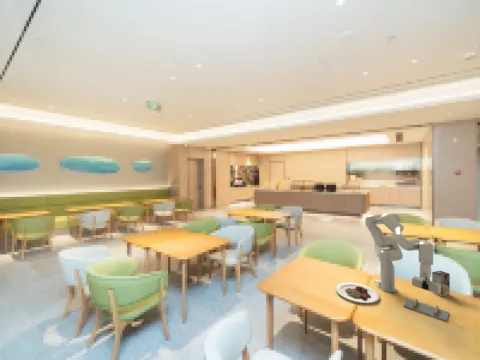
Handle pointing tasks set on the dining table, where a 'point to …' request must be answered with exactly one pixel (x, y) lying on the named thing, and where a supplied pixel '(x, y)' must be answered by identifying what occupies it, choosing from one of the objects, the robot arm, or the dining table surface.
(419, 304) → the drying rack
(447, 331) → the dining table surface
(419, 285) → the light grey block
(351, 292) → the plated food
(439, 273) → the coffee box
